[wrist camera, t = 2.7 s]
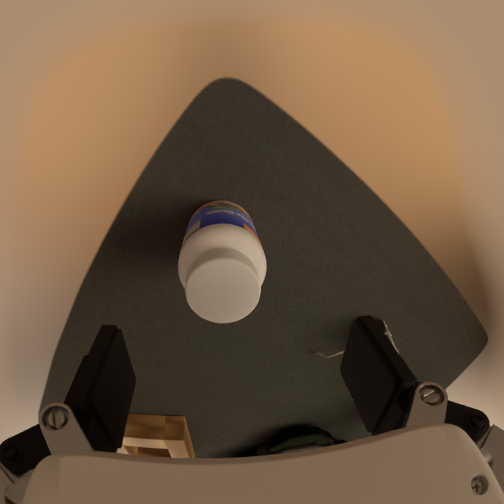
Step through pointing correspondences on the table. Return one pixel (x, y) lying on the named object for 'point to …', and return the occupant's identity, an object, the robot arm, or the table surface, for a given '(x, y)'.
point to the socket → (157, 437)
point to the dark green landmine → (296, 442)
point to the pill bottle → (221, 263)
